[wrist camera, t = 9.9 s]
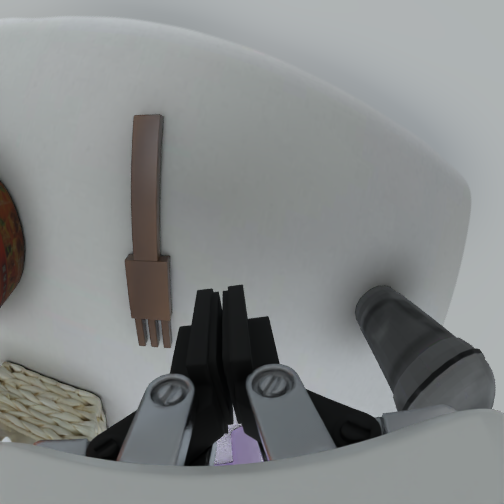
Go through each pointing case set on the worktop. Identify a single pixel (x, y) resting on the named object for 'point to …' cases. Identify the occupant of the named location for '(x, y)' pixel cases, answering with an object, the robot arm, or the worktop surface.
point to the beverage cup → (422, 355)
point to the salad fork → (148, 236)
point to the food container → (9, 246)
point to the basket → (45, 408)
